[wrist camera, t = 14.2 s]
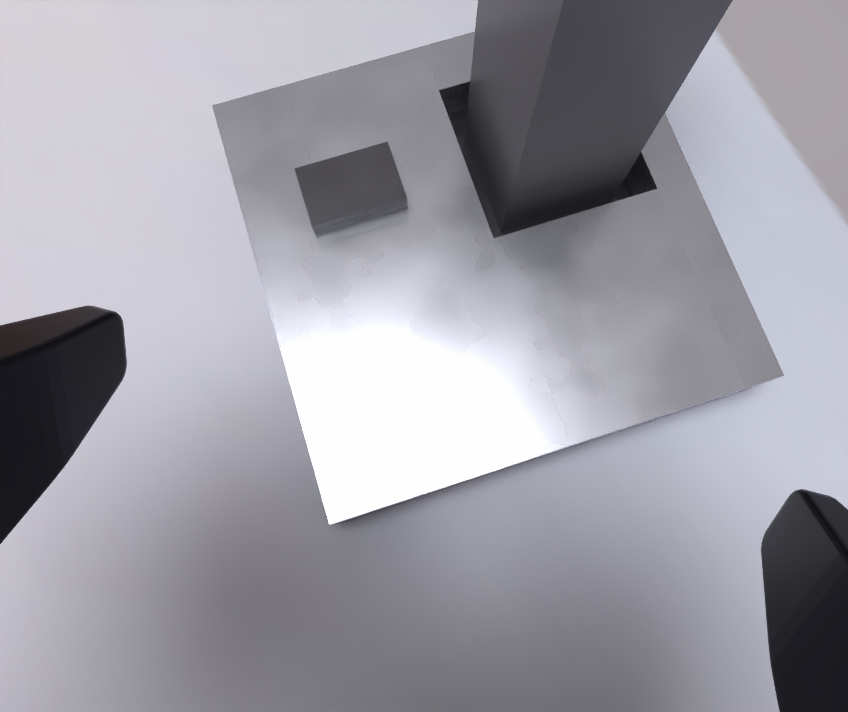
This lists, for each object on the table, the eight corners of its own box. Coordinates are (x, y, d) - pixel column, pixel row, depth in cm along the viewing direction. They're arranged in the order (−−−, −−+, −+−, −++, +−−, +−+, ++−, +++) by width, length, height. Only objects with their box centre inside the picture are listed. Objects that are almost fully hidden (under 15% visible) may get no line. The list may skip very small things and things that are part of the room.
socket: (338, 523, 20) (325, 525, 18) (230, 138, 23) (204, 90, 21) (751, 387, 21) (798, 370, 19) (595, 34, 24) (617, -25, 22)
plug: (498, 236, 22) (613, -194, 9) (461, 130, 23) (510, -411, 9) (614, 203, 22) (905, -267, 9) (573, 99, 23) (778, -471, 10)
